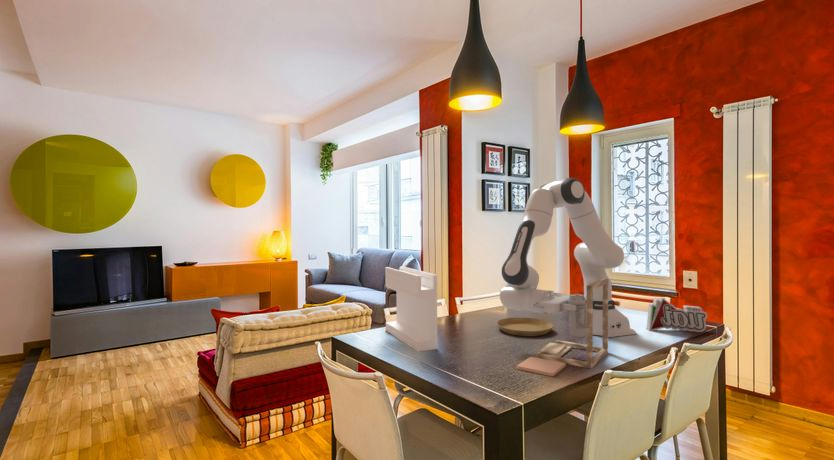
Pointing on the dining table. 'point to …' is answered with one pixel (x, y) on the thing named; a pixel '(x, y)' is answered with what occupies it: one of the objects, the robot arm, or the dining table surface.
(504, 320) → the plant saucer
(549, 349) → the beige rectangular tray
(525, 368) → the terracotta tile
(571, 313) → the energy drink can
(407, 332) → the block
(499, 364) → the dining table surface
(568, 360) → the birch rack
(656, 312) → the decorative sign
